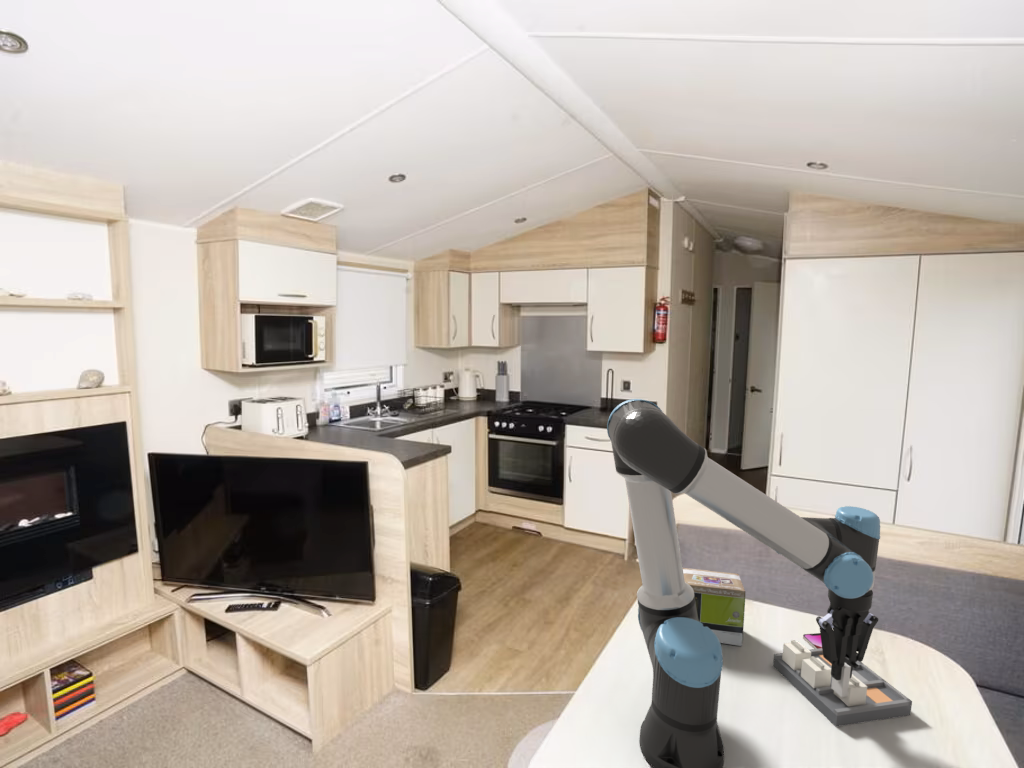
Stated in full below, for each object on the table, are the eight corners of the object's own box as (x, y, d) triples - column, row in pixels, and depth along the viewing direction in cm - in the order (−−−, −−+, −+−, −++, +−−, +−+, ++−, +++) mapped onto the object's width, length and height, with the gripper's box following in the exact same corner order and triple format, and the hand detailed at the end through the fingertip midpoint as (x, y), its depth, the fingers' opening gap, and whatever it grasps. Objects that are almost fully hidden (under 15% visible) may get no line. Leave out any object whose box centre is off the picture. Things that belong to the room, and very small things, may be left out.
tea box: (735, 625, 145) (740, 572, 143) (742, 648, 135) (747, 591, 133) (676, 617, 148) (680, 565, 146) (678, 638, 139) (682, 583, 137)
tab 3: (848, 706, 112) (851, 685, 111) (833, 693, 116) (835, 672, 115) (865, 704, 113) (867, 682, 112) (849, 691, 117) (852, 670, 116)
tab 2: (813, 688, 117) (816, 667, 117) (800, 676, 121) (802, 656, 120) (830, 686, 118) (832, 665, 117) (816, 674, 122) (818, 654, 121)
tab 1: (794, 670, 123) (796, 650, 122) (782, 659, 127) (784, 640, 126) (809, 668, 124) (811, 648, 123) (797, 657, 128) (799, 638, 127)
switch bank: (835, 726, 110) (837, 712, 110) (772, 666, 128) (774, 653, 128) (910, 715, 114) (912, 701, 113) (838, 658, 132) (840, 646, 132)
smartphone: (843, 673, 126) (800, 634, 141) (843, 677, 126) (800, 637, 141) (872, 671, 127) (826, 632, 142) (871, 674, 127) (826, 636, 142)
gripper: (837, 597, 105) (825, 709, 108) (894, 591, 108) (881, 700, 111) (809, 578, 113) (798, 683, 116) (863, 573, 115) (851, 676, 118)
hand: (839, 692), depth 113 cm, fingers closed
